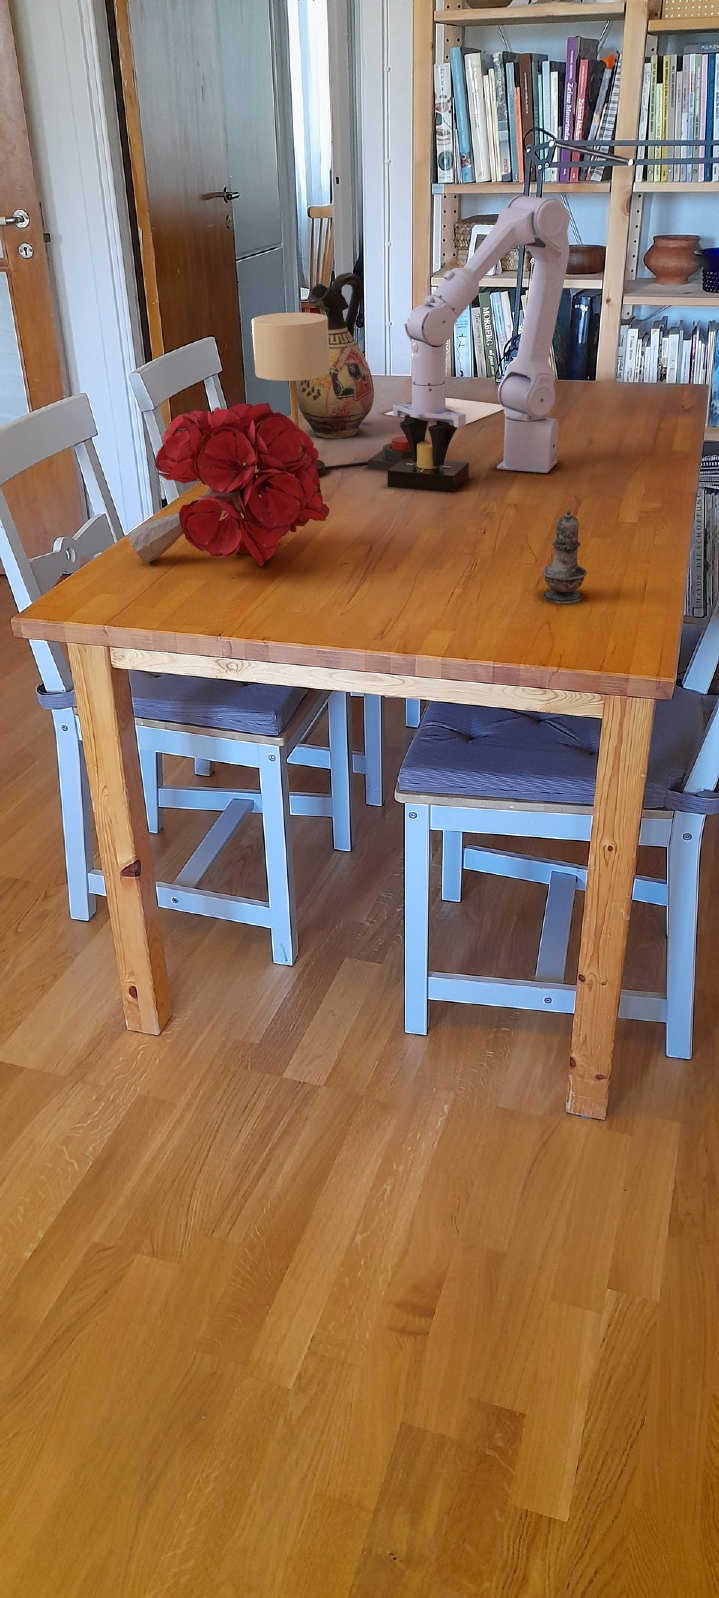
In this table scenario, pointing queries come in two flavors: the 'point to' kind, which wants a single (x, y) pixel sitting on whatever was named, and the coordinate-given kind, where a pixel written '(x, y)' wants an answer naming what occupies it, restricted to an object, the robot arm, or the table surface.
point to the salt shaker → (565, 564)
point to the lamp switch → (400, 443)
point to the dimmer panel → (428, 476)
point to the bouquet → (236, 483)
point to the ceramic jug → (338, 367)
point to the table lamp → (293, 354)
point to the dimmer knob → (425, 455)
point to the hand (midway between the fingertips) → (428, 463)
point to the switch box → (387, 458)
